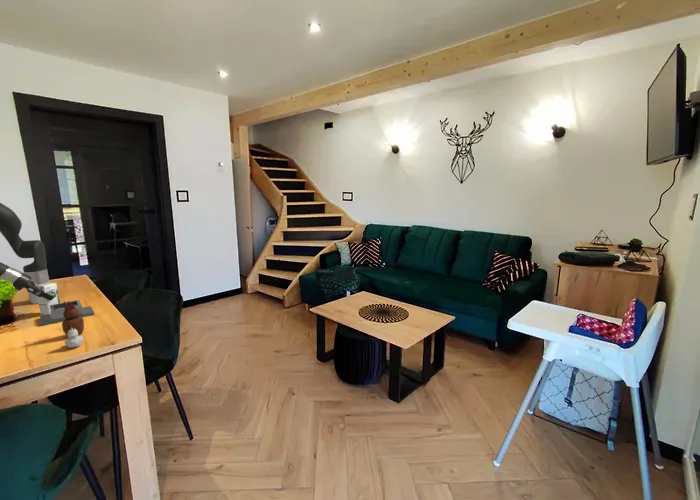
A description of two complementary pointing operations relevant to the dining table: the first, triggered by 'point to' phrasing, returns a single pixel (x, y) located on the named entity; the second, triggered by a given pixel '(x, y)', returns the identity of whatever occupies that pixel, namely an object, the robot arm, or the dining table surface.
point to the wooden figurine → (72, 319)
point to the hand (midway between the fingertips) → (52, 297)
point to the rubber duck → (73, 339)
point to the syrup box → (45, 303)
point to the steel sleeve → (59, 309)
